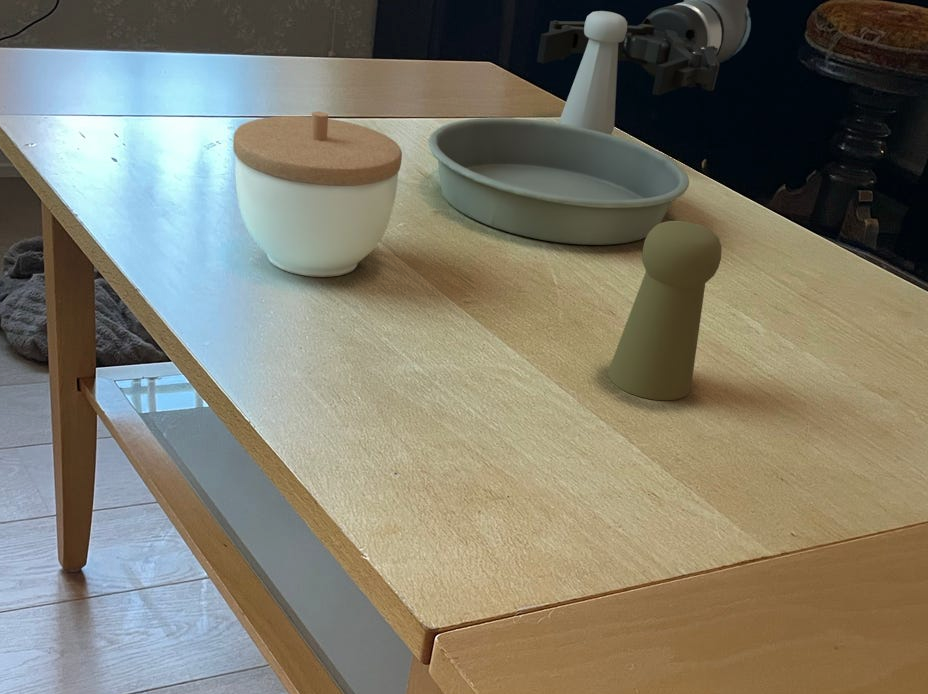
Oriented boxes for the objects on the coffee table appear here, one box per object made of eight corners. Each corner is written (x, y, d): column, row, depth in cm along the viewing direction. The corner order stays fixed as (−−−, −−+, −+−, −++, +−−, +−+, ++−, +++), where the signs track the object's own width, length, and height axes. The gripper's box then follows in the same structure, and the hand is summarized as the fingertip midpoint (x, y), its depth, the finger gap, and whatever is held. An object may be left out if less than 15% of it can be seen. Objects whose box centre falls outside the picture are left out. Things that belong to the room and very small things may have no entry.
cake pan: (731, 238, 110) (744, 189, 107) (528, 267, 97) (537, 213, 94) (568, 155, 124) (576, 110, 121) (374, 170, 112) (378, 121, 109)
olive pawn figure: (708, 392, 83) (753, 239, 76) (646, 406, 79) (686, 248, 73) (652, 356, 86) (689, 207, 79) (590, 368, 83) (624, 215, 76)
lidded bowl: (218, 230, 95) (218, 86, 88) (365, 229, 99) (376, 92, 92) (251, 293, 86) (254, 138, 79) (411, 289, 90) (427, 142, 83)
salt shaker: (555, 149, 123) (578, 14, 115) (557, 135, 128) (580, 3, 120) (609, 158, 123) (636, 23, 115) (609, 143, 128) (636, 12, 120)
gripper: (768, 101, 133) (699, 133, 118) (577, 50, 142) (491, 74, 127) (788, 30, 129) (719, 53, 114) (589, -19, 137) (501, -3, 122)
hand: (598, 64), depth 120 cm, fingers open, 13 cm apart
